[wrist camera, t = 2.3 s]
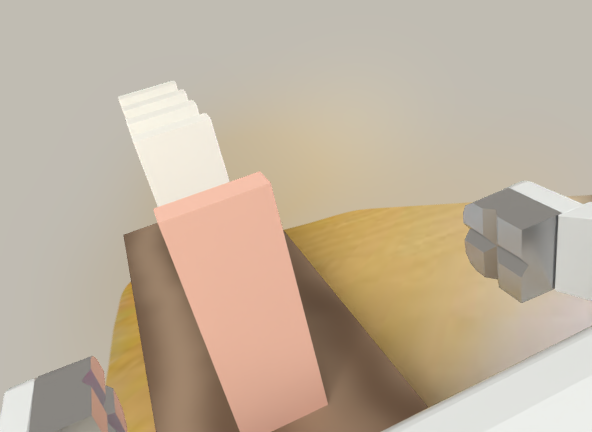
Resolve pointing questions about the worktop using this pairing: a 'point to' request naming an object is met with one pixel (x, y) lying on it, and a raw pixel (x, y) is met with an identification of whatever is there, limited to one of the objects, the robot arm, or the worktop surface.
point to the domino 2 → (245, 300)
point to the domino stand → (203, 377)
